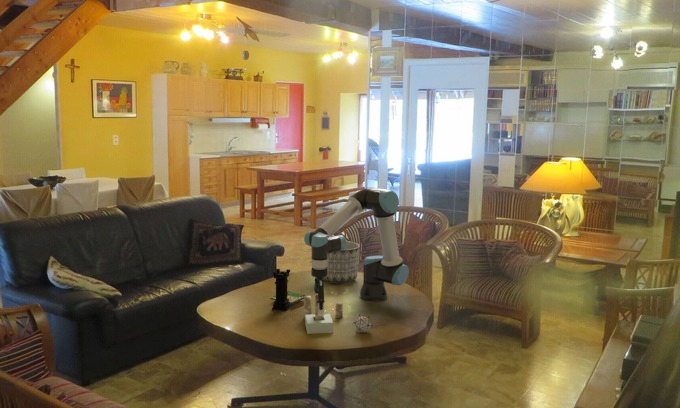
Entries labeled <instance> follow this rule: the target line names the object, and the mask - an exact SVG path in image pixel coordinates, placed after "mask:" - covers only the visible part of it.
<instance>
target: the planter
mask: <svg viewBox="0 0 680 408" xmlns="http://www.w3.org/2000/svg"><path fill="white" fill-rule="evenodd" d="M346 241H347V245H346V248H345V249H344V250H341V251H339V252H333V253H329V254H328V267H327V276H326V277H323V278H322V279H323V280H324V281H326V282H327V281H328V283H330V282H331V283H332V284H345V283H346V284H347V283H349V282H350V281H354V280H356V279H357V278H358V272H359V260H360V259H359V258H360V248H361V245H360V244H359V243H357V242H354V241H349V240H346ZM331 283H330V284H331Z"/></svg>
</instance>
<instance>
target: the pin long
mask: <svg viewBox="0 0 680 408" xmlns="http://www.w3.org/2000/svg"><path fill="white" fill-rule="evenodd" d="M317 301H318V295H316V296H315V295H314V307H315V308H314V309H315V312H314V314H315V321H317V320H322V318H323V316H318V303H317Z"/></svg>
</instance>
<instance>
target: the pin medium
mask: <svg viewBox="0 0 680 408" xmlns="http://www.w3.org/2000/svg"><path fill="white" fill-rule="evenodd" d="M311 314H312V296H311V295H304V297H303V319H304V320H305V315H311Z"/></svg>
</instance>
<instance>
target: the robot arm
mask: <svg viewBox="0 0 680 408" xmlns="http://www.w3.org/2000/svg"><path fill="white" fill-rule="evenodd" d="M399 199H400V198H399V195H398V194H397V193H396V192H395V191H394V190H391V189H387V188H378V187H377V188H376V187H364V188H362V189H360V190H358V191H356V192H355V193H354V194H352V195H351V196H350V197H348V198H347V200H346V201H347V202H346V203H345V204H344V205H343V206H341V207H340V208H339V209H337V211H336V212H335V213H333V214H332V215H331V216H330V217H329V218H327V220H325V221H324V222H323V223H322V224H321V225H320V226H319V227H318V228H316V229H315V230H309V231H307V232H306V233H305V234H304V236H303V241H304V244H305V245H306V246H309V247H310V248H311V260H310V261H309V263H310V264H311V269H310V270H311V273H310V274H311V276H312V277H314V286H313V287H314V297H315V296H316V295H318V301H317V303H318V316H324V314H325V313H324V312H325V309H324V306H325V285H324V284H325V280H323V279H322V278H323V277H326V276H327V267H328V254H329V253H333V252H339V251H341V250H344V249H345V248H346V245H347V241H348V240H347V239H346V237H345V236H344V235H342V234H338V235H335V233H336V232H338V231H339V230H341V228H342V227H343V226H344V225H345V224H347V222H349V221H350V220H351V219H352V218H353V217H355V215H356V214H361V213H362V212H363V211H366V210H370V211H372V213H373V217H374V218H375V219H376V221H377V226H378V227H377V228H378V232H379V239H380V245H381V251H382V252H381V254H382V255H369V256H366V257H365V258H364V259H363V284H362V286H361V289H360V291H359V292H360V293H359V298H361V299H362V300H365V301H371V302H372V301H373V302H378V301H384V300H386V299H387V298H388V292H387V288H386V285H385V283H387V284H389V285H390V284H391V285H393V286H402V285H404V283H405V282H406V281H407V280H408V277H409V272H410V271H409V266H408V265H406V264H404V259H403V258H402V257H401V256H400V252H399V246H398V245H399V244H398V239H397V232H396V231H397V230H396V224H395V218H394V217H395V215H396V214H397V211H398V209H399V205H400V200H399Z"/></svg>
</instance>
